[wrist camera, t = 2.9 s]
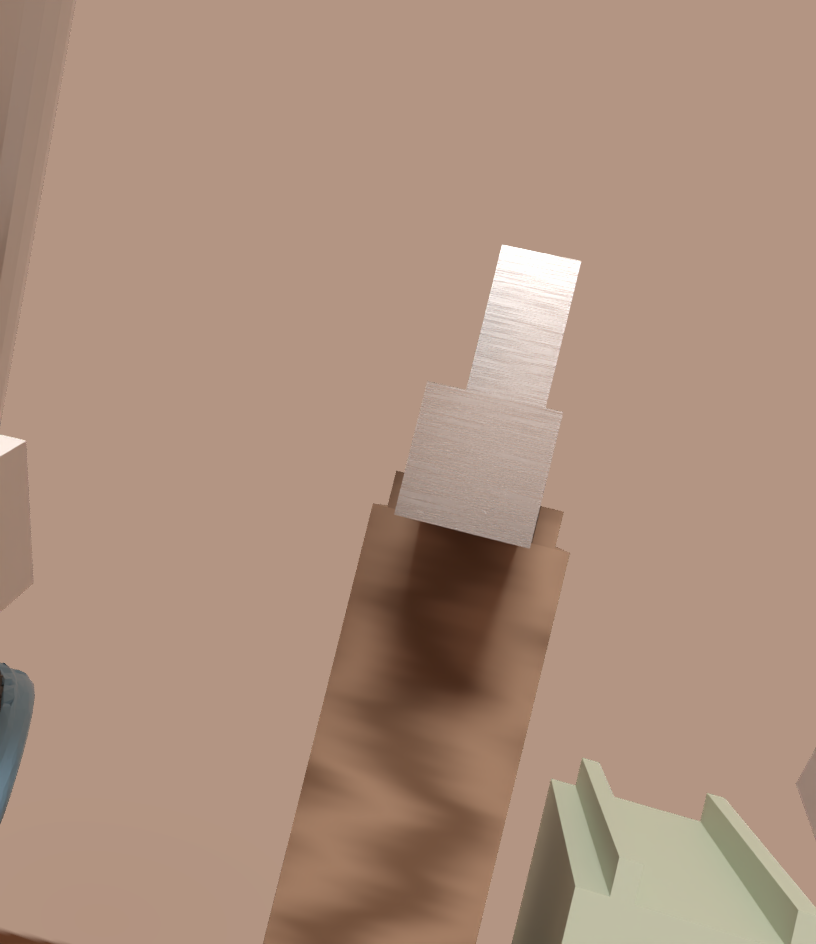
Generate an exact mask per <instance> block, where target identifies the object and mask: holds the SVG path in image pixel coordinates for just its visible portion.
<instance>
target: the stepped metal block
mask: <svg viewBox="0 0 816 944" xmlns="http://www.w3.org/2000/svg"><path fill="white" fill-rule="evenodd" d="M580 264H581V261H579V260H574V259H569V258H564V257H559V256H554V255H550V254H545V253H540V252H535V251H530V250H525V249H520V248H515V247H510V246H506V245H502V247H501V251H500V256H499V260H498V264H497V268H496V272H495V276H494V281H493V284H492V288H491V292H490V296H489V300H488V304H487V308H486V312H485V316H484V321H483V324H482V329H481V333H480V336H479V340H478V344H477V348H476V353H475V357H474V361H473V365H472V369H471V373H470V377H469V381H468V385H467V389H466V390H464V389H460V388H455V387H451V386H447V385H442V384H438V383H433V382H429V381H427V384H426V389H425V392H424V396H423V400H422V404H421V408H420V412H419V416H418V420H417V425H416V428H415V432H414V437H413V440H412V444H411V449H410V452H409V457H408V460H407V464H406V469H405V473H404V477H403V481H402V485H401V489H400V493H399V497H398V501H397V505H396V509H395V513H394V515H398V516H402V517H406V518H410V519H414V520H418V521H422V522H426V523H430V524H434V525H438V526H442V527H446V528H450V529H454V530H458V531H461V532H465V533H469V534H473V535H477V536H481V537H485V538H489V539H493V540H497V541H501V542H505V543H509V544H513V545H517V546H521V547H525V548H529V549H530V546H531V542H532V538H533V534H534V530H535V526H536V522H537V517H538V513H539V509H540V505H541V501H542V497H543V493H544V488H545V485H546V480H547V476H548V472H549V468H550V464H551V460H552V455H553V452H554V447H555V443H556V439H557V435H558V431H559V427H560V423H561V419H562V414H563V412H560V411H556V410H551V409H547V408H545V407H546V404H547V399H548V395H549V391H550V387H551V383H552V379H553V375H554V371H555V367H556V362H557V358H558V354H559V350H560V346H561V342H562V337H563V334H564V330H565V326H566V321H567V317H568V313H569V309H570V305H571V301H572V297H573V292H574V289H575V285H576V280H577V276H578V272H579V268H580Z"/></svg>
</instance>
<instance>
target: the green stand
mask: <svg viewBox="0 0 816 944" xmlns="http://www.w3.org/2000/svg"><path fill="white" fill-rule="evenodd" d="M512 944H816V907H815V906H814V905H813V904H812V903H811V901H810V900H809V899H808V898H807V897H806V895H805V894H804V893H803V892H802V891H801V889H800V888H799V887H798V886H797V885H796V883H795V882H794V881H793V880H792V878H791V877H790V876H789V875H788V874H787V873H786V871H785V870H784V869H783V868H782V866H781V865H780V864H779V863H778V862H777V860H776V859H775V858H774V857H773V856H772V854H771V853H770V852H769V851H768V850H767V848H766V847H765V846H764V845H763V844H762V842H761V841H760V840H759V839H758V838H757V836H756V835H755V834H754V833H753V831H752V830H751V829H750V828H749V827H748V825H747V824H746V823H745V822H744V821H743V819H742V818H741V817H740V816H739V815H738V814H737V812H736V811H735V810H734V809H733V807H732V806H731V805H730V804H729V803H728V801H727V800H726V799H725V798H723V797H719V796H716V795H712V794H709V793H707V795H706V800H705V804H704V808H703V813H702V817H701V821H697V820H693V819H689V818H686V817H683V816H679V815H675V814H672V813H669V812H665V811H661V810H658V809H655V808H651V807H647V806H644V805H641V804H637V803H634V802H630V801H627V800H623V799H620V798H616V797H614V795H613V793H612V791H611V788H610V786H609V784H608V782H607V779H606V777H605V775H604V772H603V770H602V768H601V765H600V763H599V762H596V761H592V760H589V759H585V758H582V761H581V765H580V769H579V773H578V778H577V782H576V786H575V785H571V784H568V783H564V782H561V781H558V780H554V779H551V781H550V786H549V790H548V794H547V798H546V802H545V807H544V811H543V815H542V819H541V823H540V828H539V832H538V836H537V840H536V844H535V848H534V853H533V857H532V861H531V865H530V869H529V873H528V878H527V882H526V886H525V890H524V894H523V899H522V903H521V907H520V911H519V915H518V919H517V923H516V928H515V932H514V936H513V940H512Z"/></svg>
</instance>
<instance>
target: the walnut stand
mask: <svg viewBox="0 0 816 944" xmlns="http://www.w3.org/2000/svg"><path fill="white" fill-rule="evenodd" d="M403 477H404V473H403V472H398V471H396V475H395V479H394V483H393V487H392V491H391V495H390V499H389V503H388V505H381V504H373V506H372V510H371V514H370V518H369V522H368V526H367V530H366V534H365V538H364V542H363V546H362V550H361V554H360V558H359V562H358V566H357V570H356V574H355V578H354V582H353V586H352V590H351V594H350V598H349V602H348V606H347V610H346V614H345V618H344V622H343V626H342V630H341V634H340V638H339V642H338V646H337V650H336V654H335V658H334V662H333V666H332V670H331V674H330V678H329V682H328V686H327V690H326V694H325V698H324V702H323V706H322V710H321V714H320V718H319V722H318V726H317V730H316V734H315V738H314V742H313V746H312V750H311V754H310V758H309V762H308V766H307V770H306V774H305V778H304V782H303V786H302V790H301V794H300V798H299V802H298V806H297V810H296V814H295V818H294V822H293V826H292V830H291V834H290V838H289V842H288V846H287V850H286V854H285V858H284V862H283V866H282V870H281V874H280V878H279V882H278V886H277V890H276V894H275V898H274V902H273V906H272V910H271V914H270V918H269V922H268V926H267V930H266V934H265V938H264V942H263V944H476V940H477V936H478V932H479V928H480V924H481V920H482V916H483V911H484V907H485V903H486V899H487V895H488V891H489V886H490V882H491V878H492V874H493V870H494V866H495V862H496V858H497V853H498V849H499V845H500V841H501V837H502V832H503V828H504V824H505V820H506V816H507V812H508V808H509V804H510V800H511V795H512V791H513V787H514V783H515V779H516V775H517V770H518V766H519V762H520V757H521V754H522V749H523V745H524V741H525V737H526V733H527V729H528V725H529V721H530V717H531V712H532V708H533V703H534V700H535V695H536V692H537V687H538V683H539V679H540V675H541V671H542V667H543V663H544V658H545V654H546V650H547V646H548V642H549V637H550V634H551V629H552V625H553V621H554V617H555V613H556V609H557V605H558V600H559V596H560V592H561V588H562V584H563V579H564V576H565V571H566V567H567V563H568V559H569V555H570V553H569V552H567V551H564V550H562V549H560V548H558V547H555V546H556V542H557V538H558V533H559V529H560V525H561V521H562V517H563V512H562V511H558V510H554V509H550V508H546V507H542V506H540V509H539V513H538V517H537V522H536V526H535V530H534V534H533V538H532V542H531V546H530V549H529V548H525V547H521V546H517V545H513V544H509V543H505V542H501V541H497V540H493V539H489V538H485V537H481V536H477V535H473V534H469V533H465V532H461V531H458V530H454V529H450V528H446V527H442V526H438V525H434V524H430V523H426V522H422V521H418V520H414V519H410V518H406V517H402V516H398V515H394V513H395V509H396V505H397V501H398V497H399V493H400V489H401V485H402V481H403Z"/></svg>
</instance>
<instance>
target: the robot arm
mask: <svg viewBox="0 0 816 944" xmlns="http://www.w3.org/2000/svg"><path fill="white" fill-rule="evenodd" d="M75 3H76V0H0V424H1V418H2V413H3V407H4V402H5V396H6V391H7V385H8V379H9V374H10V368H11V363H12V357H13V351H14V345H15V340H16V334H17V328H18V323H19V318H20V312H21V306H22V300H23V295H24V290H25V284H26V278H27V273H28V266H29V261H30V256H31V250H32V245H33V239H34V233H35V228H36V222H37V217H38V211H39V205H40V199H41V194H42V188H43V183H44V176H45V172H46V166H47V160H48V154H49V149H50V144H51V138H52V132H53V126H54V121H55V116H56V110H57V104H58V99H59V93H60V87H61V82H62V76H63V70H64V65H65V59H66V54H67V48H68V43H69V37H70V31H71V25H72V20H73V14H74V9H75ZM32 584H33V564H32V545H31V526H30V506H29V487H28V467H27V448H26V441H24V440H21V439H16V438H12V437H8V436H4V435H0V612H1V611H2V610H3V609H5V608H6V607H7V606H8V605H9V604H10V603H12V602H13V601H14V600H15V599H16V598H17V597H18V596H19V595H21V594H22V593H23V592H24V591H25V590H26V589H27V588H29V587H30V586H31V585H32ZM34 696H35V694H34V684H33V683H32V681H31V680H30V679H29V677H28V676H27V674H26V673H24V672H22V671H20V670H15V669H11V668H9V667H8V666H7V665H6V664H5V663H0V823H1V821H2V819H3V816H4V813H5V810H6V807H7V804H8V801H9V798H10V795H11V792H12V789H13V785H14V782H15V779H16V776H17V772H18V769H19V766H20V762H21V758H22V755H23V751H24V747H25V744H26V739H27V736H28V731H29V726H30V721H31V718H32V712H33V705H34ZM796 785H797V788H798V791H799V794H800V797H801V800H802V803H803V805H804V808H805V811H806V814H807V817H808V820H809V822H810V825H811V828H812V831H813V834H814V837H815V839H816V749H815V750H814V752H813V754H812V756H811V758H810V759H809V761H808V763H807V765H806V766H805V768H804V770H803V772H802V774H801V775H800V777H799V779H798V781H797V783H796Z"/></svg>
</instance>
